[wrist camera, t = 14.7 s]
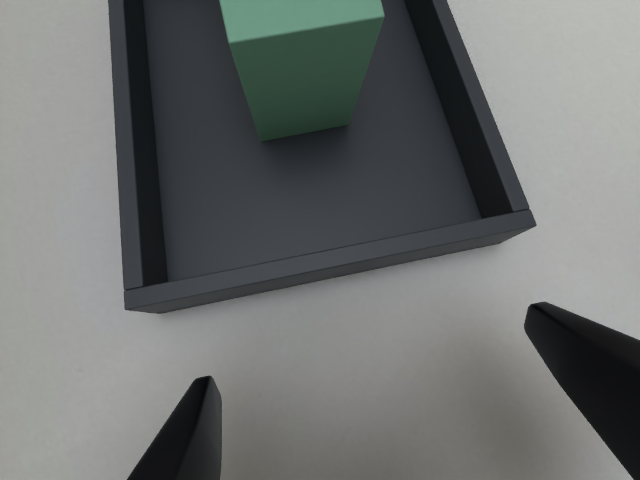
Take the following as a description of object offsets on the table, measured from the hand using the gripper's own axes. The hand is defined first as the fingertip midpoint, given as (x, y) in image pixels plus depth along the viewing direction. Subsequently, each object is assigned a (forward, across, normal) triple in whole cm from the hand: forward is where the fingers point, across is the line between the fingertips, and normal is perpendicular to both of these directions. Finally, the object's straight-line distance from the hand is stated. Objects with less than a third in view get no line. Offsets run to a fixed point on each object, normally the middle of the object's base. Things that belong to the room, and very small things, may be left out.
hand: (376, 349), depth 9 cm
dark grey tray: (+15, 0, -5) cm, 16 cm away
